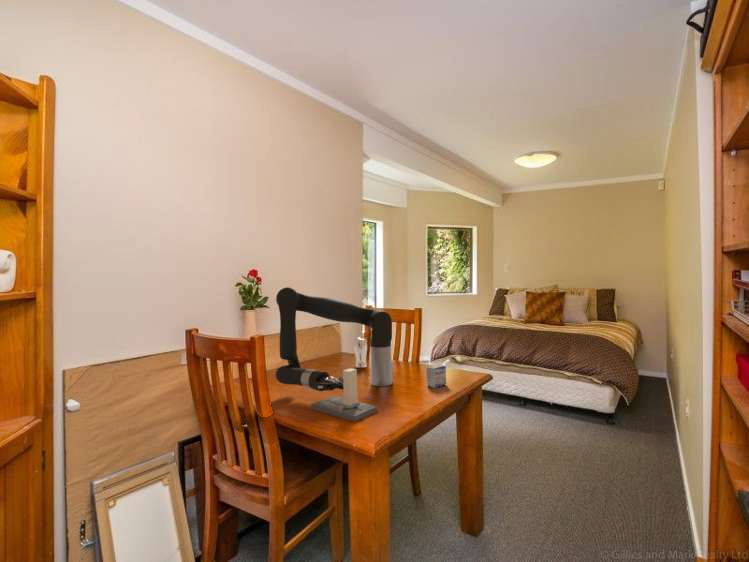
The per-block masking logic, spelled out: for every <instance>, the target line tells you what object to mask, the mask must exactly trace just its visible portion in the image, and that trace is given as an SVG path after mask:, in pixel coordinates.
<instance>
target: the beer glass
mask: <svg viewBox="0 0 749 562" xmlns="http://www.w3.org/2000/svg"><path fill="white" fill-rule="evenodd" d="M353 341H354V342H353V343H354V344H353V348H354V349H353V350H354V354H355V355H354V356H355V368H357V369H358V368H359V369H362V368H367V366H368V365H367V364H368V363H367V354H368V353H367V352H368V344H367V343H368V340H367V338H366V337H356V338H354V339H353Z"/></svg>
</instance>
